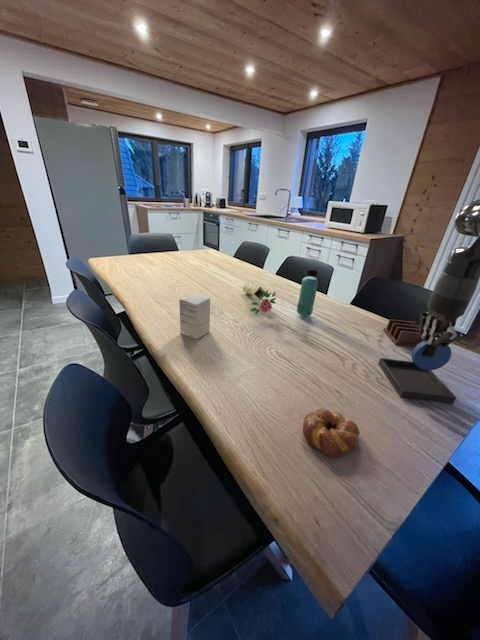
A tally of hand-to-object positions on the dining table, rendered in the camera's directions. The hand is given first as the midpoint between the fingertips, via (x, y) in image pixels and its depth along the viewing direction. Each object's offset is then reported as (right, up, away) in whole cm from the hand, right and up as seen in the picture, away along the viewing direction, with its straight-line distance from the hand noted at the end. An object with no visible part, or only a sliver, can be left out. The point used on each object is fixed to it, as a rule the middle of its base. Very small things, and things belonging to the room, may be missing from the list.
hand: (424, 353), depth 70 cm
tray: (-1, -8, +4) cm, 9 cm away
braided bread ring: (-31, -15, -15) cm, 37 cm away
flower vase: (-42, +15, +45) cm, 64 cm away
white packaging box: (-65, +5, +20) cm, 68 cm away
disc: (+2, 0, 0) cm, 2 cm away
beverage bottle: (-23, +10, +40) cm, 47 cm away
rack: (+12, +2, +28) cm, 30 cm away
